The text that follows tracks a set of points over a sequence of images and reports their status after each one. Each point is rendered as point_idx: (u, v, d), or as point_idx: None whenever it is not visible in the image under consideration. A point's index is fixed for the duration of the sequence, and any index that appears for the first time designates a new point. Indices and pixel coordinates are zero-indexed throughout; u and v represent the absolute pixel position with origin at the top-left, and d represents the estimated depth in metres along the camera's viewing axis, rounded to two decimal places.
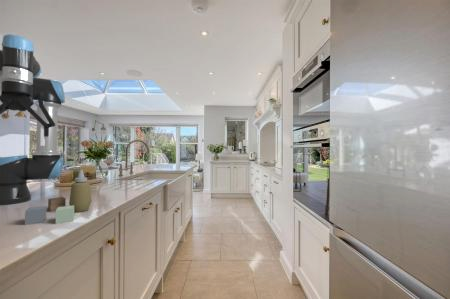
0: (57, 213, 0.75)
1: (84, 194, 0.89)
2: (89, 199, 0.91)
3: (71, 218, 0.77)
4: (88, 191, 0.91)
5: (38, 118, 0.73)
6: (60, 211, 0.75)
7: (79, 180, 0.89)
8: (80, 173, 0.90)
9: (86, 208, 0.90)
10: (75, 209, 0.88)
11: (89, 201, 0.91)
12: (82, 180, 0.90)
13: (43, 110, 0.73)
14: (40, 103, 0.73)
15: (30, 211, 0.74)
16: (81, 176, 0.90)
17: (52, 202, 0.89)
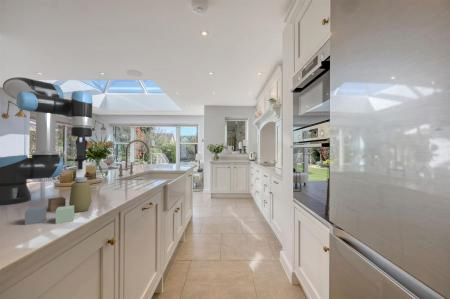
0: (57, 213, 0.75)
1: (84, 194, 0.89)
2: (89, 199, 0.91)
3: (71, 218, 0.77)
4: (88, 191, 0.91)
5: None
6: (60, 211, 0.75)
7: (79, 180, 0.89)
8: None
9: (86, 208, 0.90)
10: (75, 209, 0.88)
11: (89, 201, 0.91)
12: (82, 180, 0.90)
13: (77, 146, 0.84)
14: (77, 141, 0.85)
15: (30, 211, 0.74)
16: None
17: (52, 202, 0.89)
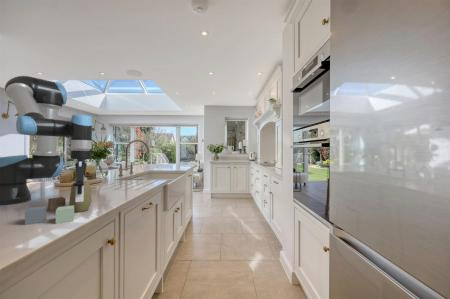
0: (57, 213, 0.75)
1: (84, 194, 0.89)
2: (89, 199, 0.91)
3: (71, 218, 0.77)
4: (88, 191, 0.91)
5: None
6: (60, 211, 0.75)
7: None
8: None
9: (86, 208, 0.90)
10: (75, 209, 0.88)
11: (89, 201, 0.91)
12: None
13: None
14: (76, 165, 0.85)
15: (30, 211, 0.74)
16: None
17: (52, 202, 0.89)
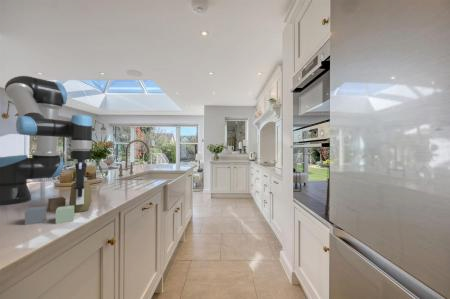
0: (57, 213, 0.75)
1: (84, 194, 0.89)
2: (89, 199, 0.91)
3: (71, 218, 0.77)
4: (88, 191, 0.91)
5: None
6: (60, 211, 0.75)
7: None
8: None
9: (86, 208, 0.90)
10: (75, 209, 0.88)
11: (89, 201, 0.91)
12: None
13: (76, 173, 0.85)
14: (76, 167, 0.85)
15: (30, 211, 0.74)
16: None
17: (52, 202, 0.89)
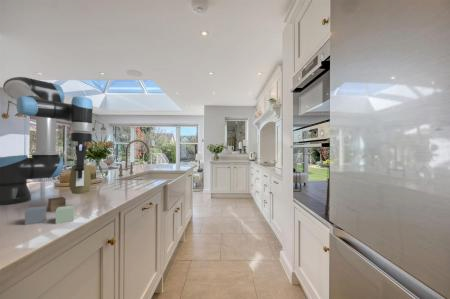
0: (57, 213, 0.75)
1: (84, 176, 0.89)
2: (89, 181, 0.91)
3: (71, 218, 0.77)
4: (88, 173, 0.91)
5: None
6: (60, 211, 0.75)
7: None
8: None
9: (86, 190, 0.91)
10: (75, 191, 0.88)
11: (89, 183, 0.91)
12: None
13: None
14: (77, 149, 0.86)
15: (30, 211, 0.74)
16: None
17: (52, 202, 0.89)
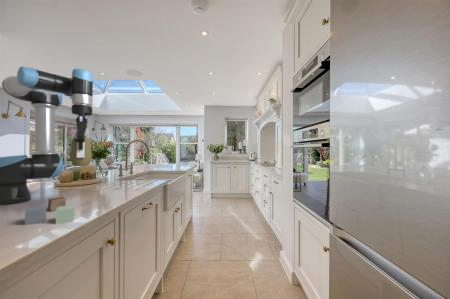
0: (57, 213, 0.75)
1: (85, 148, 0.89)
2: (90, 154, 0.91)
3: (71, 218, 0.77)
4: (89, 146, 0.91)
5: None
6: (60, 211, 0.75)
7: None
8: None
9: (87, 163, 0.91)
10: (76, 162, 0.88)
11: (90, 156, 0.91)
12: None
13: None
14: (77, 120, 0.86)
15: (30, 211, 0.74)
16: None
17: (52, 202, 0.89)
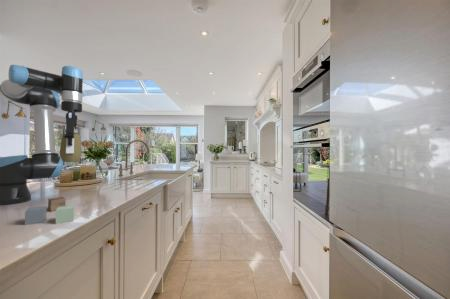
0: (57, 213, 0.75)
1: (74, 144, 0.91)
2: (79, 150, 0.93)
3: (71, 218, 0.77)
4: (78, 142, 0.92)
5: None
6: (60, 211, 0.75)
7: None
8: None
9: (76, 159, 0.92)
10: (65, 158, 0.89)
11: (79, 152, 0.92)
12: None
13: None
14: (66, 116, 0.87)
15: (30, 211, 0.74)
16: None
17: (52, 202, 0.89)
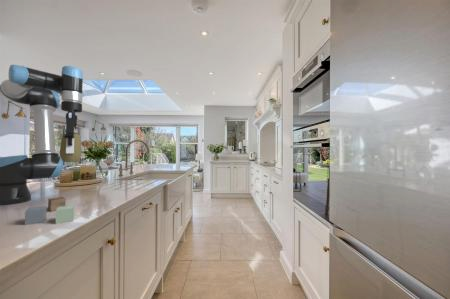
0: (57, 213, 0.75)
1: (74, 144, 0.91)
2: (79, 150, 0.93)
3: (71, 218, 0.77)
4: (78, 142, 0.92)
5: None
6: (60, 211, 0.75)
7: None
8: None
9: (76, 159, 0.92)
10: (65, 158, 0.89)
11: (79, 152, 0.92)
12: None
13: None
14: (66, 116, 0.87)
15: (30, 211, 0.74)
16: None
17: (52, 202, 0.89)
